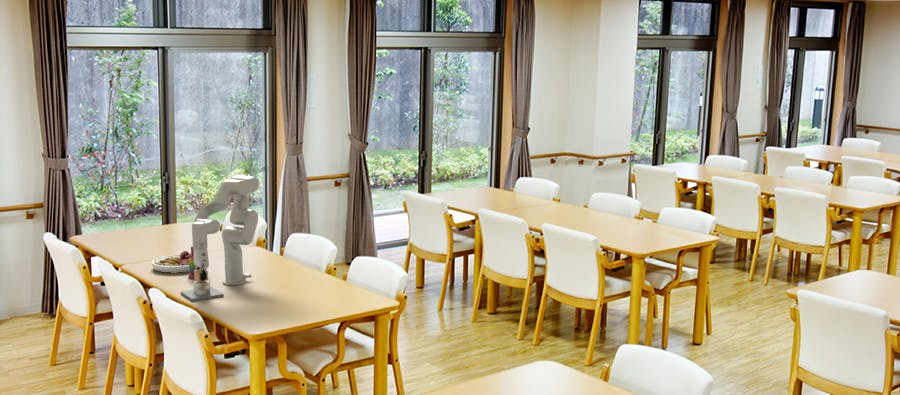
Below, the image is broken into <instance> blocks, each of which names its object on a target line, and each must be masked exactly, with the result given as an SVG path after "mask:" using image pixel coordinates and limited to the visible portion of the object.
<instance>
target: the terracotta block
mask: <svg viewBox="0 0 900 395" xmlns="http://www.w3.org/2000/svg"><path fill="white" fill-rule="evenodd" d="M202 270H203V269H202ZM206 271H207V273H206V275H207V281H209V270H206ZM200 273H201V271H200V269H199V270H194V279H193V281H198V282H199V281H201V280H200ZM203 281H206V280H203Z"/></svg>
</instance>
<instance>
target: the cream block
mask: <svg viewBox="0 0 900 395" xmlns="http://www.w3.org/2000/svg"><path fill="white" fill-rule="evenodd" d="M210 287H211V283H210V281H209V280H206V281H199V282H198V281H196V280H193V290H194V293H196V294H197V295H202V294H208V293H210Z"/></svg>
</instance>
